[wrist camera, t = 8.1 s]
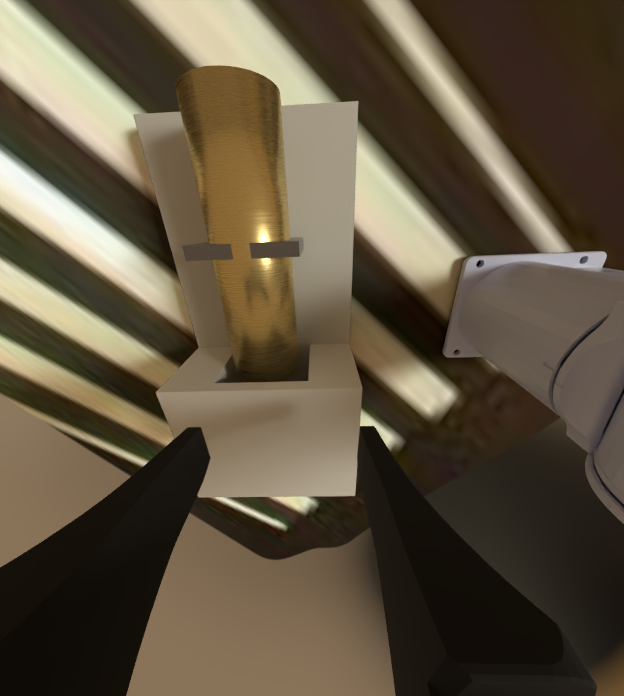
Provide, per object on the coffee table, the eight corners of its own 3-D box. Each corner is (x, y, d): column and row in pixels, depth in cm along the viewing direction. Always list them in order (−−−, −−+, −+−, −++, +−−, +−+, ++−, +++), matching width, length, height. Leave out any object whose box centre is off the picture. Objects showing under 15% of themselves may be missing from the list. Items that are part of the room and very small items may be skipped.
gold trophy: (297, 112, 13) (288, 60, 9) (308, 350, 19) (307, 383, 15) (191, 118, 13) (135, 70, 9) (238, 352, 19) (217, 385, 15)
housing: (354, 111, 14) (387, 14, 7) (345, 426, 24) (354, 495, 18) (147, 123, 14) (10, 40, 8) (228, 428, 25) (198, 497, 19)
